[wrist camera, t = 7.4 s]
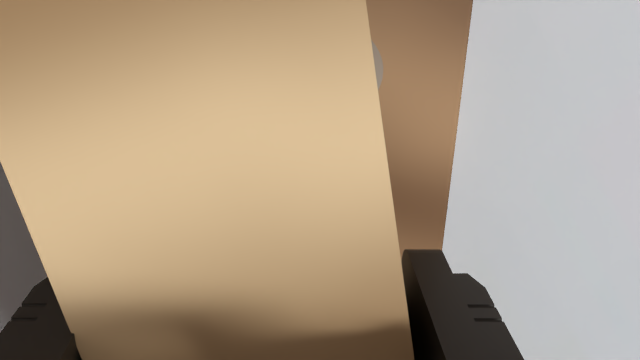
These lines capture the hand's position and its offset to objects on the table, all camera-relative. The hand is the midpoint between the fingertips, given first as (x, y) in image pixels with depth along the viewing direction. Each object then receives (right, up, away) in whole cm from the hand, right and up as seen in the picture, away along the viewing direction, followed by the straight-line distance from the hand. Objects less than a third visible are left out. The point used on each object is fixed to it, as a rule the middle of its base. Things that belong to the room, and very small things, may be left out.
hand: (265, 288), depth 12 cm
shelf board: (0, +1, +1) cm, 1 cm away
